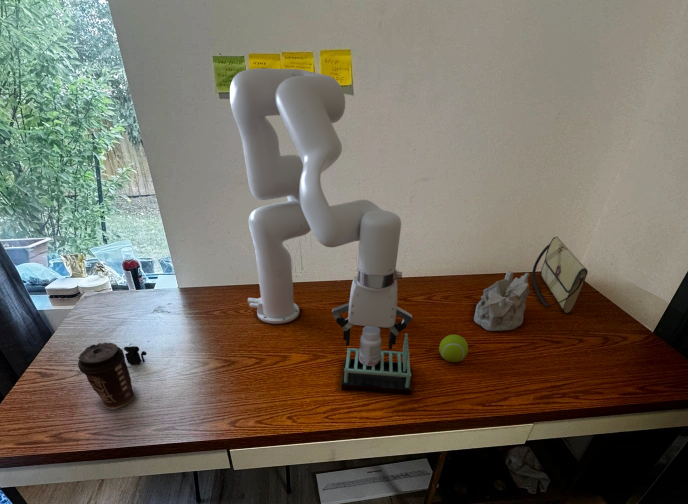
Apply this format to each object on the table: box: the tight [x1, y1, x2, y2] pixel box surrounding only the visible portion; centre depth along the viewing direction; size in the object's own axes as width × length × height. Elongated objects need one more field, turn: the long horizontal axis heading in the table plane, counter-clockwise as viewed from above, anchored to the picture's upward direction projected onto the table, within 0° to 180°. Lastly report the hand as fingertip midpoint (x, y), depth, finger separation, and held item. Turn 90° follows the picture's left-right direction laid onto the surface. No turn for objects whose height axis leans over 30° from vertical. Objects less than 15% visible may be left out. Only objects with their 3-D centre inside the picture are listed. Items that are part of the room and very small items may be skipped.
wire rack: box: [340, 333, 413, 396], centre depth 92 cm, size 16×10×11 cm, turn 84°
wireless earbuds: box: [123, 345, 148, 365], centre depth 97 cm, size 7×2×5 cm, turn 96°
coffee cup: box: [77, 342, 135, 410], centre depth 84 cm, size 9×8×13 cm
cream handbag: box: [531, 236, 589, 314], centre depth 127 cm, size 30×7×15 cm, turn 172°
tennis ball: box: [438, 334, 469, 363], centre depth 99 cm, size 7×7×7 cm
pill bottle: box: [358, 326, 382, 366], centre depth 89 cm, size 5×5×8 cm
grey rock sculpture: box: [473, 270, 531, 332], centre depth 115 cm, size 16×16×15 cm
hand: (368, 344), depth 90 cm, fingers open, 9 cm apart
